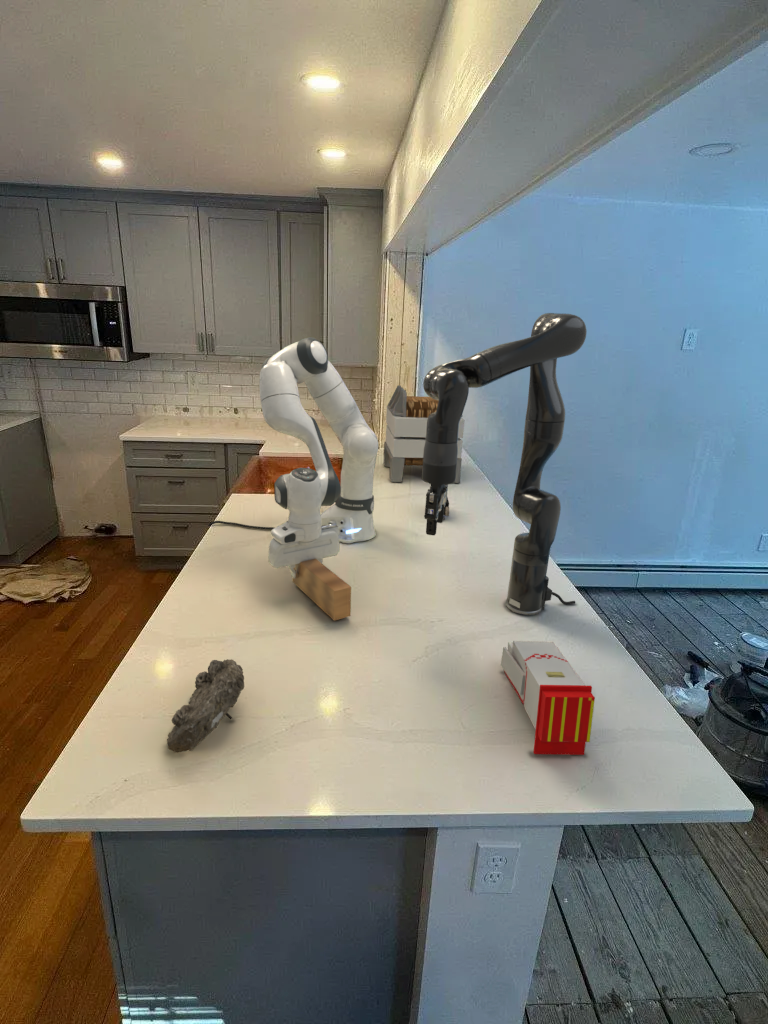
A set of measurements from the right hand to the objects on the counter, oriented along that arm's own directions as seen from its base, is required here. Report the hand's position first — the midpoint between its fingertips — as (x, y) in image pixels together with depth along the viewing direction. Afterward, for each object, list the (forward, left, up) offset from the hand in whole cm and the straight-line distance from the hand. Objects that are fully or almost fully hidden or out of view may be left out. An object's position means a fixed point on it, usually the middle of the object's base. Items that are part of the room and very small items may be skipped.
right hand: (434, 528), depth 131 cm
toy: (-10, +33, -27) cm, 44 cm away
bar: (+22, -21, -26) cm, 40 cm away
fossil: (+52, +17, -27) cm, 61 cm away
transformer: (-55, -132, -27) cm, 145 cm away
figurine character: (-39, -75, -27) cm, 89 cm away
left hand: (+24, -30, -23) cm, 45 cm away
